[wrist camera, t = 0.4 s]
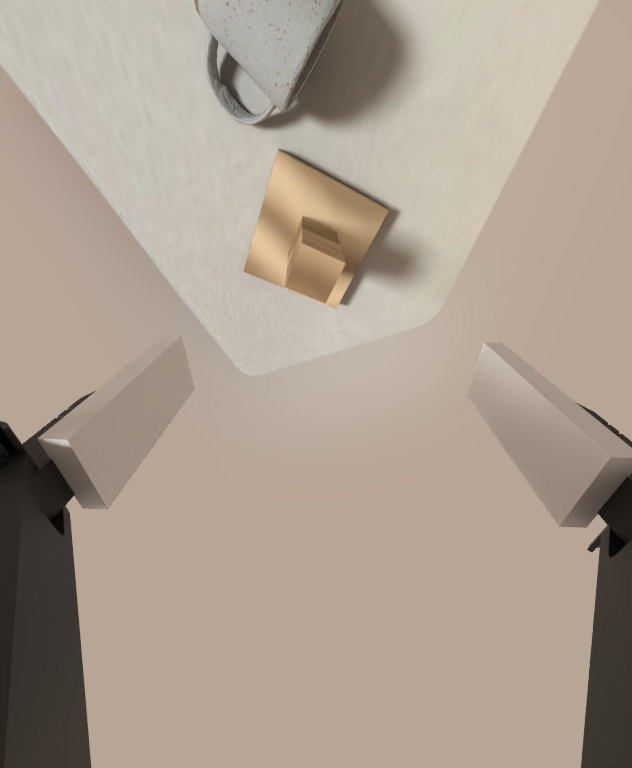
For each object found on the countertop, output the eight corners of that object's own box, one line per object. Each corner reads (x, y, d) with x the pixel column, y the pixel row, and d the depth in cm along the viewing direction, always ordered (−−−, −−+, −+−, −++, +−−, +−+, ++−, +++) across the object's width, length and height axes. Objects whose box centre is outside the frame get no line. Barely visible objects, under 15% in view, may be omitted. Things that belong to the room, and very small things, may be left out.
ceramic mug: (249, -115, 19) (225, -209, 13) (344, 9, 22) (357, -25, 17) (188, 74, 25) (152, 63, 19) (271, 149, 28) (262, 159, 22)
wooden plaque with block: (278, 149, 28) (269, 161, 20) (386, 208, 31) (412, 237, 24) (245, 267, 35) (229, 308, 27) (335, 304, 38) (343, 349, 31)
